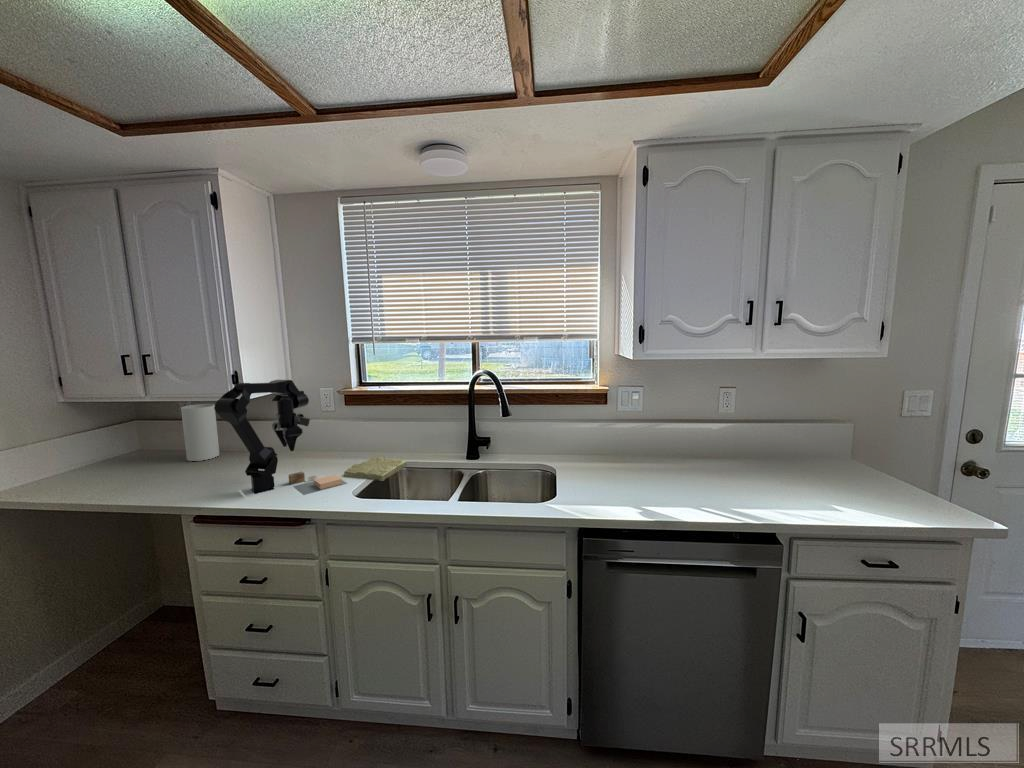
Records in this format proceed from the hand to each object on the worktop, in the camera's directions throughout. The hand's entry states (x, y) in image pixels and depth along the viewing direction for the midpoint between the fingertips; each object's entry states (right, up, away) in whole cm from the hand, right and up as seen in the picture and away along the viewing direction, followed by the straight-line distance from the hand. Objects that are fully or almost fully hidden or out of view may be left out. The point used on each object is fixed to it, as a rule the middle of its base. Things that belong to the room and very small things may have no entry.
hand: (288, 448), depth 167 cm
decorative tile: (+33, -12, +8) cm, 36 cm away
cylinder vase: (-56, -9, +29) cm, 64 cm away
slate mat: (+17, -13, -9) cm, 23 cm away
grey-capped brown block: (+8, -13, -4) cm, 16 cm away
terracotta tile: (+17, -12, -11) cm, 24 cm away
